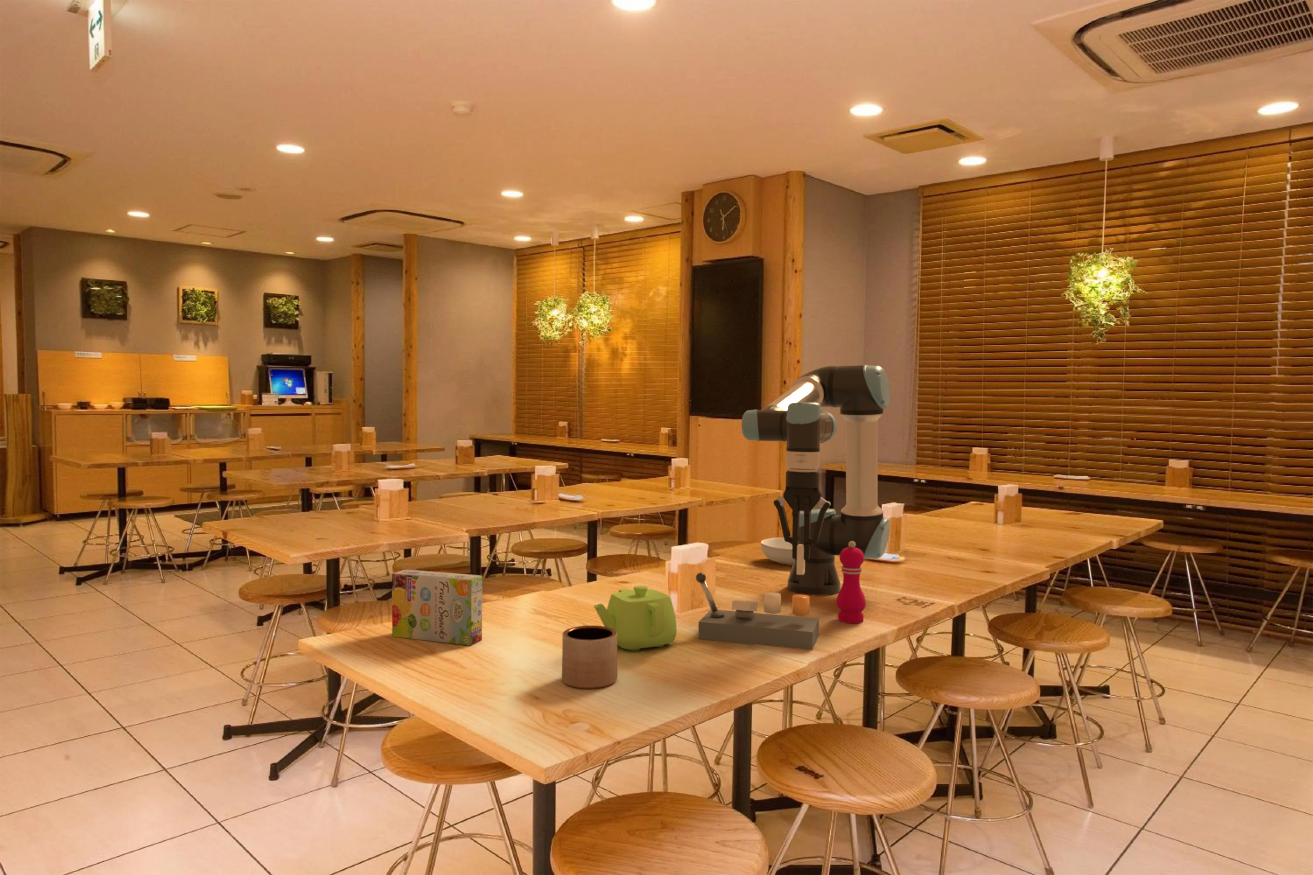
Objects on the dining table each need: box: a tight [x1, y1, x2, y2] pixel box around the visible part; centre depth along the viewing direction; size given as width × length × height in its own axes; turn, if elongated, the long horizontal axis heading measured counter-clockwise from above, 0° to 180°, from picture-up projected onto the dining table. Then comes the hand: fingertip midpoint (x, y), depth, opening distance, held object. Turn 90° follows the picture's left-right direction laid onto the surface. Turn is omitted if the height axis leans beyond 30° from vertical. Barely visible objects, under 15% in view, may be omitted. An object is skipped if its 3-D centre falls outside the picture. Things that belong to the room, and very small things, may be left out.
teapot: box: [593, 585, 677, 652], centre depth 186 cm, size 18×20×13 cm
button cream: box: [763, 591, 782, 615], centre depth 192 cm, size 4×4×4 cm
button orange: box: [791, 594, 810, 617], centre depth 190 cm, size 4×4×4 cm
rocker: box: [731, 599, 758, 612], centre depth 194 cm, size 10×4×2 cm, turn 162°
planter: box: [561, 625, 618, 690], centre depth 163 cm, size 11×11×10 cm
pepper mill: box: [835, 541, 867, 624], centre depth 208 cm, size 7×7×20 cm
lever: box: [695, 572, 719, 613], centre depth 196 cm, size 2×2×10 cm
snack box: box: [391, 569, 483, 646], centre depth 190 cm, size 21×6×15 cm, turn 71°
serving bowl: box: [760, 537, 794, 566], centre depth 280 cm, size 21×21×7 cm
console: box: [698, 609, 820, 651], centre depth 193 cm, size 12×26×6 cm, turn 72°
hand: (800, 573), depth 189 cm, fingers closed
